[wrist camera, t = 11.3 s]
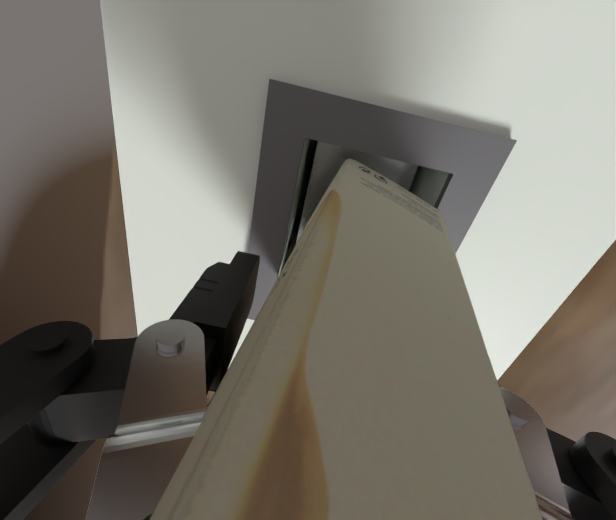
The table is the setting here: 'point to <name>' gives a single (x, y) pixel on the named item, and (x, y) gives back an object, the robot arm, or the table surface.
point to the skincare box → (359, 383)
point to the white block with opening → (368, 136)
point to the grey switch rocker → (332, 160)
